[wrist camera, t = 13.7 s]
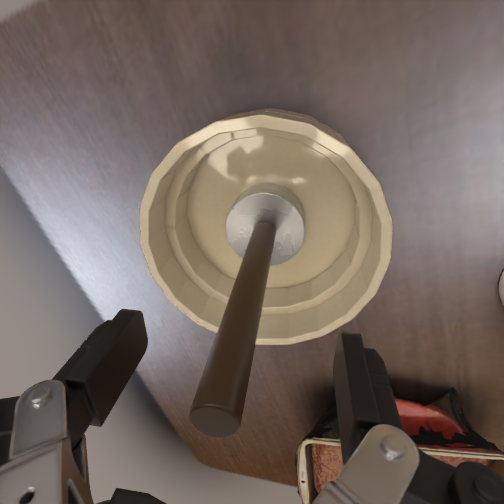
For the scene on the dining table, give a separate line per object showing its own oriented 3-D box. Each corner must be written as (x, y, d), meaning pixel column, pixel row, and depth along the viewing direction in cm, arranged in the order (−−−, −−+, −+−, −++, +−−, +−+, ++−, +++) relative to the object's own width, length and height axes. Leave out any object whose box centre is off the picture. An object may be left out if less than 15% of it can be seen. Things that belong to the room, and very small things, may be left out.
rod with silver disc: (217, 216, 24) (91, 406, 10) (269, 166, 22) (204, 321, 7) (266, 263, 26) (219, 491, 11) (320, 222, 23) (348, 442, 9)
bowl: (138, 208, 26) (95, 240, 20) (273, 52, 19) (262, 39, 14) (265, 322, 29) (257, 374, 24) (414, 224, 23) (447, 265, 18)
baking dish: (311, 349, 33) (293, 446, 25) (513, 388, 28) (573, 526, 20) (306, 424, 40) (291, 518, 32) (464, 466, 35) (493, 588, 27)
